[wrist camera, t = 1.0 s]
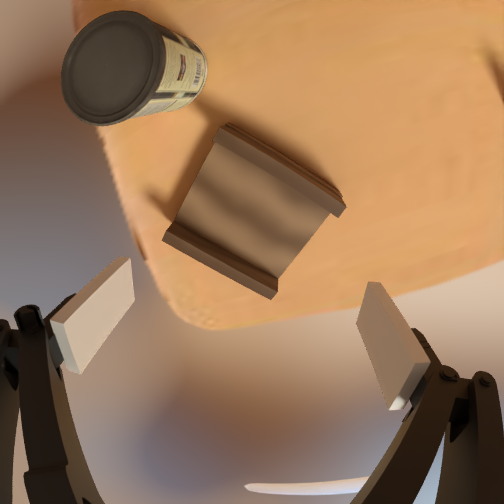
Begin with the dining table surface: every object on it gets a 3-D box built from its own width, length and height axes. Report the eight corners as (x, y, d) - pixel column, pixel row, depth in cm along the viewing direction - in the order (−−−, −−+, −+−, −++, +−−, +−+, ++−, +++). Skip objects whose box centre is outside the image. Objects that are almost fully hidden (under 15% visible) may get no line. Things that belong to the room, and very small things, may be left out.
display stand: (229, 122, 32) (220, 126, 28) (339, 191, 35) (347, 205, 31) (173, 224, 39) (161, 241, 35) (271, 279, 42) (270, 301, 38)
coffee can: (121, 59, 28) (49, 53, 16) (193, 23, 26) (142, -11, 14) (145, 125, 33) (79, 146, 21) (219, 94, 30) (180, 92, 18)
